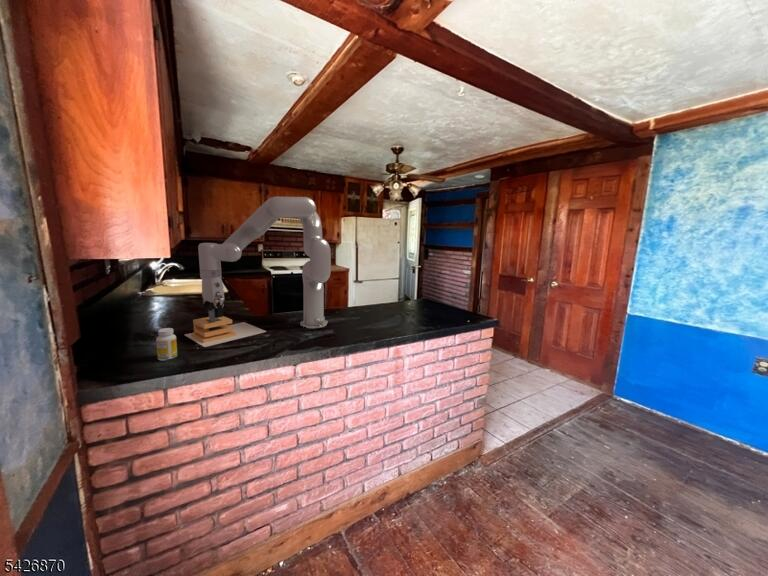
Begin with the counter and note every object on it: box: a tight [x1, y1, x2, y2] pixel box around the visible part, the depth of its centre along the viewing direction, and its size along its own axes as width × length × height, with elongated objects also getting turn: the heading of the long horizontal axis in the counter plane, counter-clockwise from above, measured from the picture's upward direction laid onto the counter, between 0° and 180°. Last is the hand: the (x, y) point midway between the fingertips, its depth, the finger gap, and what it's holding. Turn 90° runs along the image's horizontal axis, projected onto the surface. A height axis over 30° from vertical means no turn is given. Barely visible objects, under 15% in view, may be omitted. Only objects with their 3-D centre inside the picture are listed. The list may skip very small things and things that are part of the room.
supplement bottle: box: [155, 327, 178, 362], centre depth 107 cm, size 6×6×10 cm
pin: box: [208, 308, 218, 331], centre depth 129 cm, size 3×3×10 cm
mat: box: [184, 321, 267, 348], centre depth 134 cm, size 20×26×1 cm
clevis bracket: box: [190, 315, 236, 343], centre depth 129 cm, size 12×13×7 cm
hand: (213, 314), depth 128 cm, fingers open, 9 cm apart
